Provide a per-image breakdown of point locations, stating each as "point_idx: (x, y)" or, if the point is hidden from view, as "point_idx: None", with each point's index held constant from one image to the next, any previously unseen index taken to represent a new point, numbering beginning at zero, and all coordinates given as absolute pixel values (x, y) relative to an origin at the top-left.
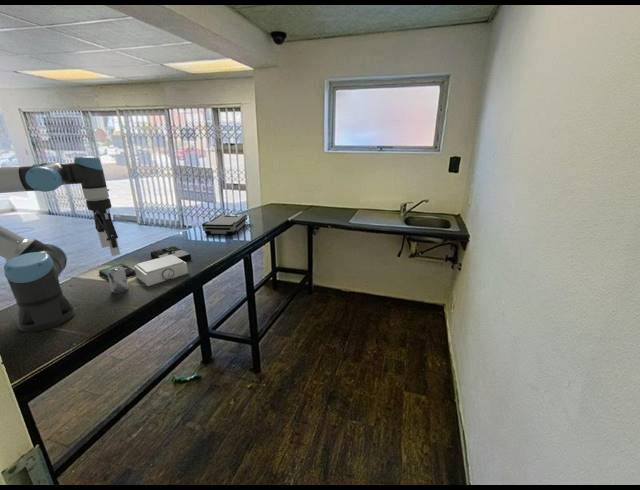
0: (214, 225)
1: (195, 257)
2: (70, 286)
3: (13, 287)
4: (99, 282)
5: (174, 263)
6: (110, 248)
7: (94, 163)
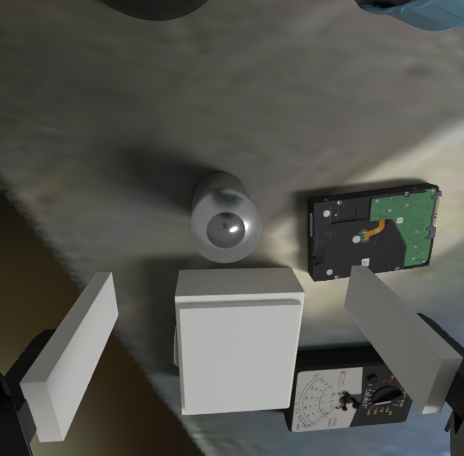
0: None
1: None
2: (413, 68)
3: None
4: (352, 162)
5: (190, 391)
6: (70, 311)
7: None
